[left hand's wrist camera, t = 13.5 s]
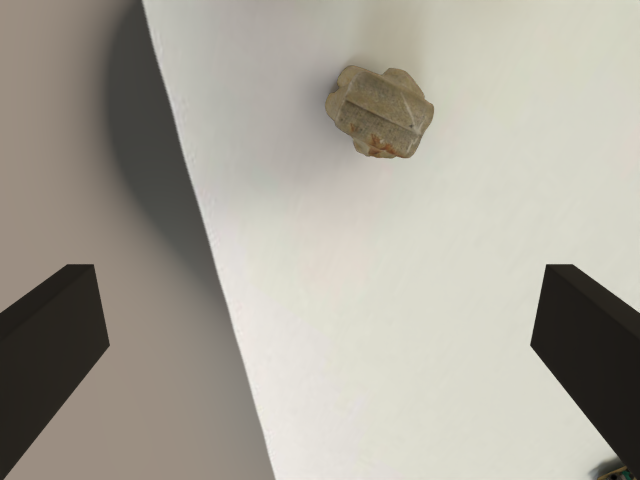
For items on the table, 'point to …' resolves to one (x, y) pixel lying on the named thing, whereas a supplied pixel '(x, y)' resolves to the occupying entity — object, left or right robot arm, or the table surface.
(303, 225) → the table surface
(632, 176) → the table surface
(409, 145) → the sculpture
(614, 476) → the spray gun
